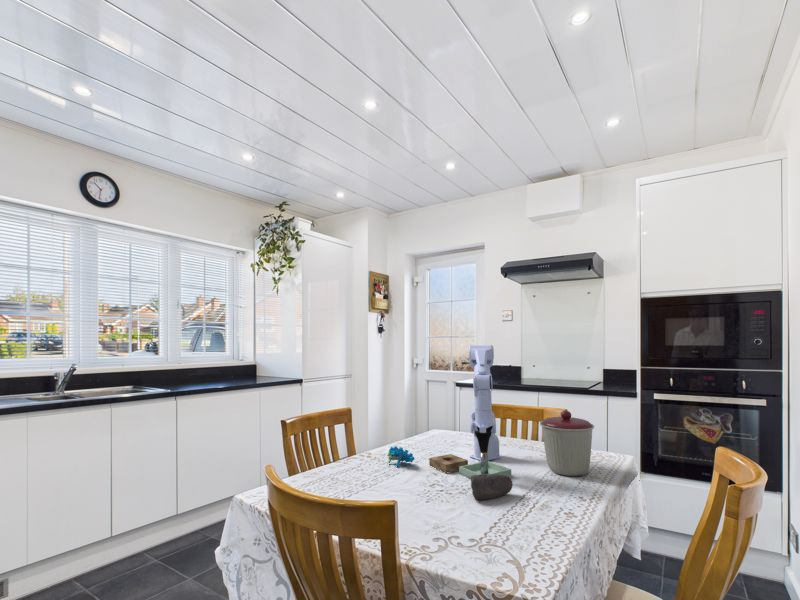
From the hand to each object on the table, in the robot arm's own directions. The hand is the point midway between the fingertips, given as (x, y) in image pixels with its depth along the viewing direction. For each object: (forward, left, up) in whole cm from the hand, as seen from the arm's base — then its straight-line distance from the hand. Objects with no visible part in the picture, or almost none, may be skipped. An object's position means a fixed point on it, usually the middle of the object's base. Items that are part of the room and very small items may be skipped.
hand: (484, 449), depth 150 cm
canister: (-27, +13, -9) cm, 31 cm away
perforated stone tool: (+12, +16, -9) cm, 22 cm away
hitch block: (+5, -14, -9) cm, 17 cm away
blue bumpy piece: (+18, -27, -9) cm, 33 cm away
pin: (0, 0, -8) cm, 8 cm away
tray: (0, 0, -9) cm, 9 cm away
